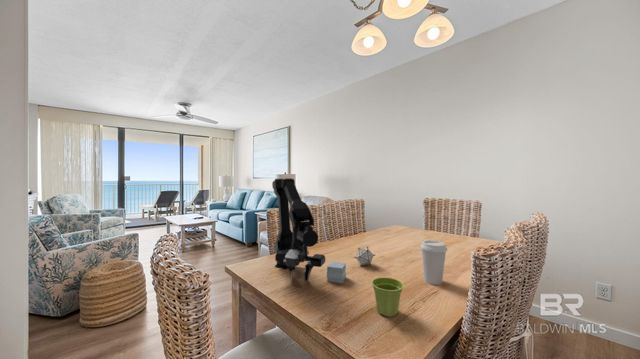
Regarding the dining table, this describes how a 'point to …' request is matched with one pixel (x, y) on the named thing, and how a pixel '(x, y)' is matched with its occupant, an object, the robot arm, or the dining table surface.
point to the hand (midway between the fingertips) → (300, 280)
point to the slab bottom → (336, 279)
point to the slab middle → (336, 274)
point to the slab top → (336, 267)
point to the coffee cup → (433, 261)
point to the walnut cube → (298, 276)
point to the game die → (364, 256)
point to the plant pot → (387, 295)
